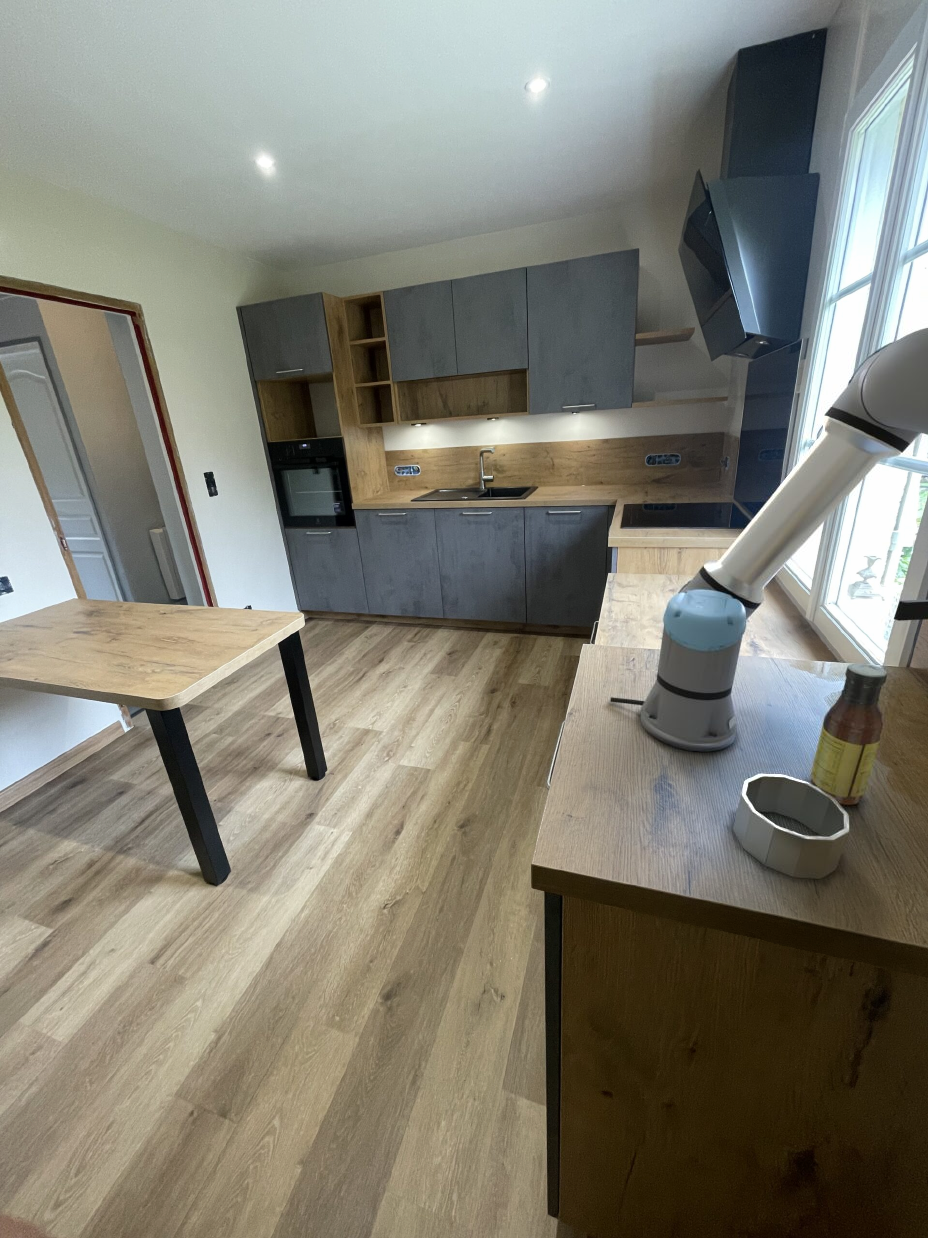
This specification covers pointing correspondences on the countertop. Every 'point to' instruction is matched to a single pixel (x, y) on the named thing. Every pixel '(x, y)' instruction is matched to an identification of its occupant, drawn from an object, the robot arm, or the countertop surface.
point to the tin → (782, 844)
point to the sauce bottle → (850, 736)
